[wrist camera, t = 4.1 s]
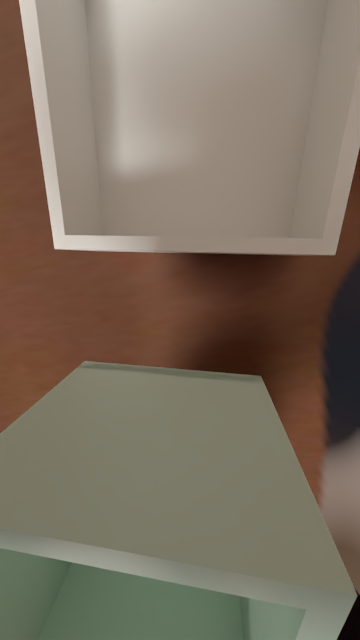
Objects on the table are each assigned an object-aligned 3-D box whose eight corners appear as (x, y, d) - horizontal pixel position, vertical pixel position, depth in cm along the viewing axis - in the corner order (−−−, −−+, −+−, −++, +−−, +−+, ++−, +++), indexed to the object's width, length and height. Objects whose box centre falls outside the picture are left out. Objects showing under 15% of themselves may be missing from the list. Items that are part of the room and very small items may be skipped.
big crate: (293, 255, 15) (335, 254, 10) (99, 250, 16) (54, 248, 11) (344, -42, 10) (458, -291, 6) (77, -9, 12) (-7, -182, 7)
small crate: (240, 505, 9) (275, 769, 5) (100, 484, 10) (3, 690, 5) (260, 375, 7) (357, 595, 3) (84, 360, 8) (-90, 511, 3)
